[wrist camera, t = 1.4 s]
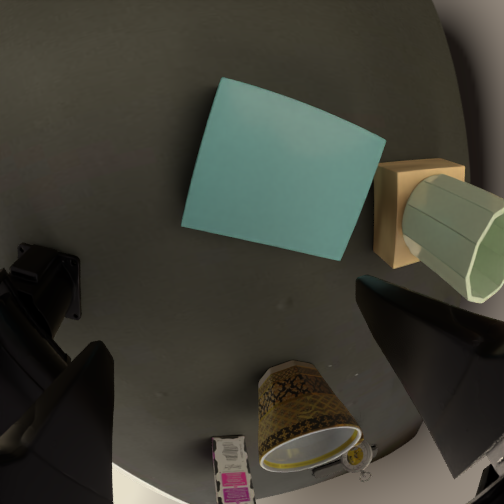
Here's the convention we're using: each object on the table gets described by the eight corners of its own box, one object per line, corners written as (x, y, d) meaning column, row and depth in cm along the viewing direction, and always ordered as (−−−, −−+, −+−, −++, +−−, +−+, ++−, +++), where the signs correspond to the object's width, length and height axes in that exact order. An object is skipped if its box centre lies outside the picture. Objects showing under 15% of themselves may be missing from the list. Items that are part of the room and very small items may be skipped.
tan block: (434, 234, 25) (456, 249, 22) (372, 251, 25) (393, 269, 22) (439, 157, 22) (465, 165, 18) (372, 163, 21) (397, 172, 18)
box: (320, 239, 23) (340, 261, 20) (184, 207, 20) (180, 226, 17) (357, 134, 20) (386, 140, 16) (218, 85, 17) (221, 76, 13)
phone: (313, 472, 47) (378, 447, 47) (312, 469, 47) (377, 444, 48) (315, 479, 50) (375, 457, 50) (315, 476, 51) (374, 454, 51)
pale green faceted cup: (440, 261, 22) (493, 305, 16) (387, 244, 20) (449, 297, 14) (468, 192, 20) (531, 223, 13) (420, 160, 18) (497, 188, 11)
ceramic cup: (229, 397, 30) (241, 472, 22) (271, 339, 27) (299, 425, 18) (316, 408, 35) (339, 467, 26) (362, 359, 31) (399, 422, 23)
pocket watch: (322, 434, 39) (341, 483, 30) (367, 421, 40) (388, 465, 31) (313, 452, 43) (328, 496, 34) (354, 441, 44) (371, 481, 35)
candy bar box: (209, 436, 34) (221, 539, 20) (244, 433, 35) (264, 535, 20) (212, 463, 39) (223, 544, 24) (241, 461, 40) (257, 541, 25)
